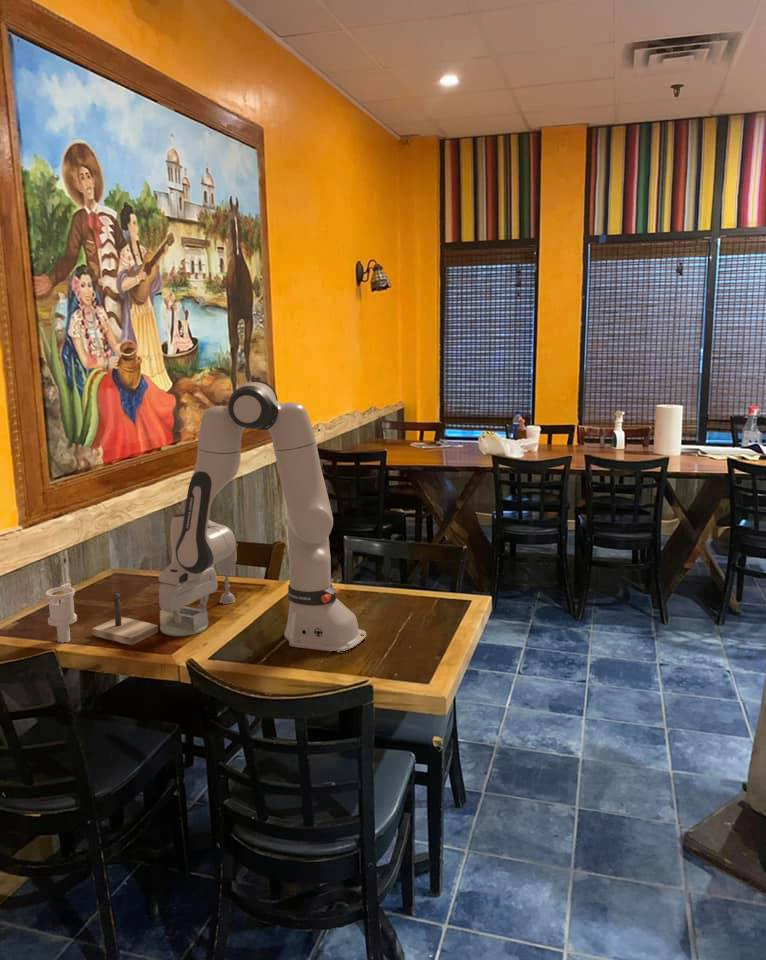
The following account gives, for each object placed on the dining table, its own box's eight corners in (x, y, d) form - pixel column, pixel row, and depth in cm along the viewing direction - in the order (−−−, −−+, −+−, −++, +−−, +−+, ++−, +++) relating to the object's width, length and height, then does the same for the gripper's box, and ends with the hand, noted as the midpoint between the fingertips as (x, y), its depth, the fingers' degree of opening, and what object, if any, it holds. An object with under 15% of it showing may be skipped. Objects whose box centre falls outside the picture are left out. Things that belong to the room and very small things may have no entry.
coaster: (217, 623, 215) (217, 620, 215) (186, 639, 204) (186, 636, 203) (181, 615, 221) (181, 612, 220) (149, 630, 209) (149, 628, 209)
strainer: (84, 637, 205) (80, 584, 202) (66, 647, 198) (62, 592, 195) (62, 634, 207) (57, 581, 204) (43, 644, 200) (39, 590, 197)
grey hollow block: (208, 624, 212) (207, 611, 211) (194, 632, 207) (193, 618, 206) (175, 617, 217) (174, 603, 216) (160, 624, 212) (159, 610, 211)
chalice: (242, 597, 235) (240, 542, 232) (236, 605, 229) (234, 548, 225) (219, 596, 236) (217, 541, 232) (212, 604, 229) (210, 547, 226)
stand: (158, 631, 209) (156, 593, 206) (131, 645, 200) (128, 604, 198) (120, 622, 215) (117, 585, 212) (92, 635, 206) (89, 596, 204)
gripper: (204, 557, 218) (206, 602, 221) (153, 577, 200) (156, 626, 203) (221, 560, 215) (223, 606, 218) (172, 581, 197) (174, 631, 200)
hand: (190, 616), depth 210 cm, fingers open, 8 cm apart
